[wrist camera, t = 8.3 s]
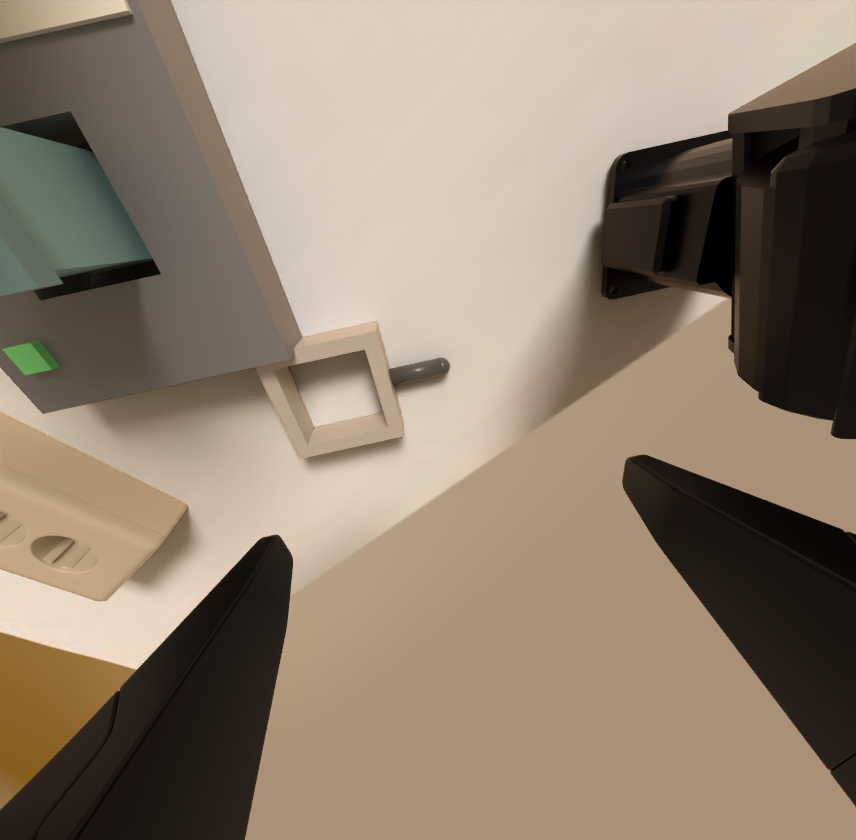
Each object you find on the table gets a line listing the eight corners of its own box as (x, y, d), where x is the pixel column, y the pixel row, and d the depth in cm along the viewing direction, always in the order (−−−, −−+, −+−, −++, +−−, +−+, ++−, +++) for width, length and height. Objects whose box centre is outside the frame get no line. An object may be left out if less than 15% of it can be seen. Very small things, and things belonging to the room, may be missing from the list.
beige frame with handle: (439, 307, 18) (444, 315, 16) (456, 407, 21) (461, 423, 20) (263, 346, 18) (250, 358, 16) (306, 440, 21) (299, 459, 20)
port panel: (146, -60, 11) (61, -164, 8) (303, 341, 18) (287, 362, 15) (-201, 17, 11) (-411, -59, 8) (91, 387, 18) (35, 417, 15)
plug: (131, 147, 14) (-131, 62, 7) (189, 262, 16) (38, 287, 9) (27, 169, 14) (-342, 108, 7) (100, 282, 16) (-119, 322, 9)
